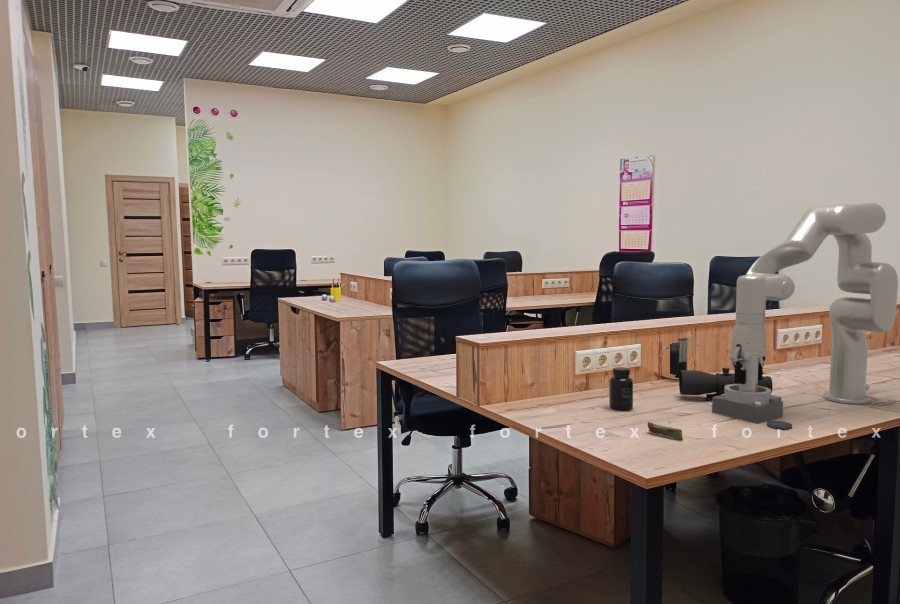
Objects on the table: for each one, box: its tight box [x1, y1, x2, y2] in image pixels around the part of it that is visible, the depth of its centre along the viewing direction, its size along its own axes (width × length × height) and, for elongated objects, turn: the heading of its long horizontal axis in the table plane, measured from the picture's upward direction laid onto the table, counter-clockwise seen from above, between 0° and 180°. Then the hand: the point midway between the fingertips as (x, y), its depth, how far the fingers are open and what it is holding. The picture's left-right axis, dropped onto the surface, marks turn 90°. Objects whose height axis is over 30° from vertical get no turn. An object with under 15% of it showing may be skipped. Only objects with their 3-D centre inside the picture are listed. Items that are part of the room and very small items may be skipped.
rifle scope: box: [678, 367, 774, 402], centre depth 203 cm, size 10×26×10 cm, turn 78°
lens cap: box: [766, 420, 793, 431], centre depth 174 cm, size 6×6×1 cm
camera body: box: [711, 384, 784, 424], centre depth 186 cm, size 12×14×8 cm
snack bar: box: [647, 421, 684, 441], centre depth 166 cm, size 10×2×3 cm, turn 41°
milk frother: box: [670, 337, 689, 378], centre depth 234 cm, size 14×16×15 cm
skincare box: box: [739, 356, 759, 393], centre depth 185 cm, size 6×4×12 cm
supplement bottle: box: [608, 366, 634, 412], centre depth 193 cm, size 7×7×12 cm
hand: (748, 381), depth 185 cm, fingers closed on skincare box, 7 cm apart
